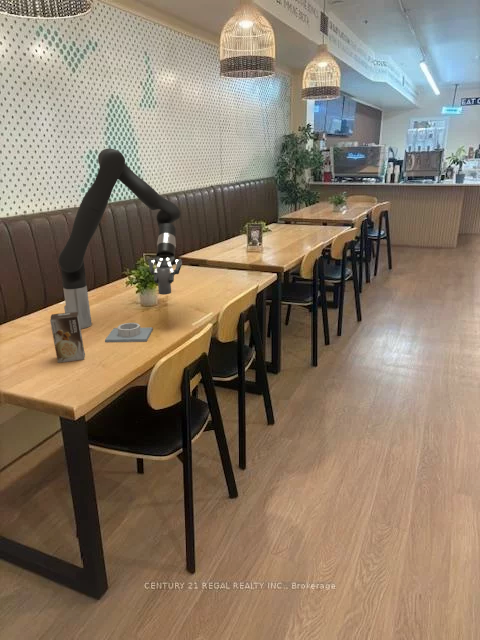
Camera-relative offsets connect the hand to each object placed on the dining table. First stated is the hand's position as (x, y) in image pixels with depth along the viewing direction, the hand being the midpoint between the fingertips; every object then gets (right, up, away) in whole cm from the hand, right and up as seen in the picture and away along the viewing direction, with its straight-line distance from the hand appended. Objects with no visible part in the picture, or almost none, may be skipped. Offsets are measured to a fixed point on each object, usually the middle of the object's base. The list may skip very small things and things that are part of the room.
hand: (163, 282), depth 183 cm
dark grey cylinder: (0, -4, +3) cm, 5 cm away
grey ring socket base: (-14, -21, 0) cm, 25 cm away
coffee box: (-30, -29, -19) cm, 45 cm away
